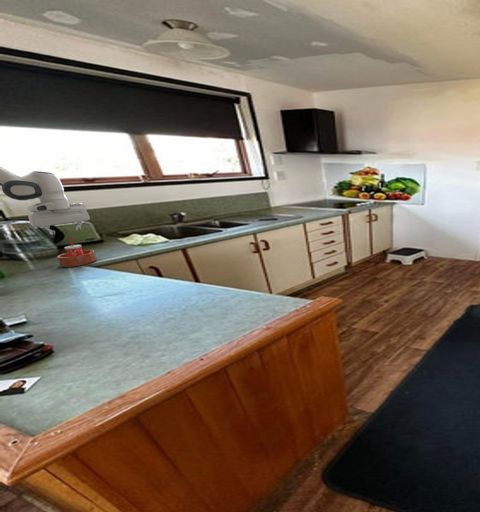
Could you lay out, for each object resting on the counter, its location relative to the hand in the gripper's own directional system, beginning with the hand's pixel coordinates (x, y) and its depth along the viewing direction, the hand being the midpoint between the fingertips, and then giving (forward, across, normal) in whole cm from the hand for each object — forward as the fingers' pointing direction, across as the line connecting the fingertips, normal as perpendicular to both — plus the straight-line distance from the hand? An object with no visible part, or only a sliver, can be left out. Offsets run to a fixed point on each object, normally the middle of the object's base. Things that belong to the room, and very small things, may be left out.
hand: (66, 232), depth 139 cm
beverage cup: (+17, 0, 0) cm, 17 cm away
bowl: (+17, 0, 0) cm, 17 cm away
